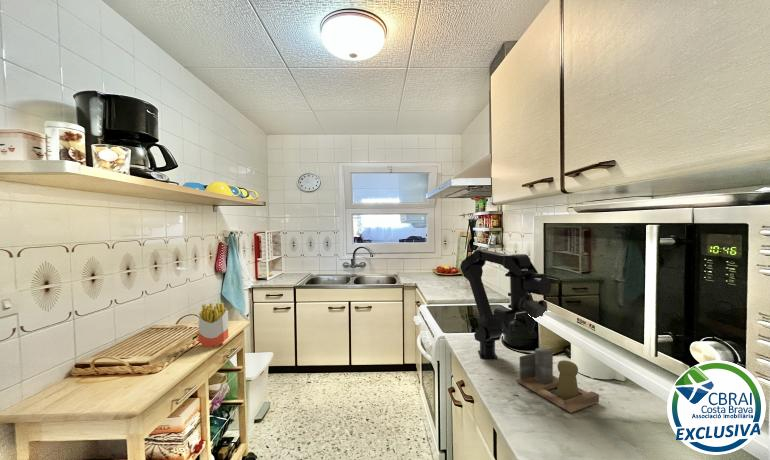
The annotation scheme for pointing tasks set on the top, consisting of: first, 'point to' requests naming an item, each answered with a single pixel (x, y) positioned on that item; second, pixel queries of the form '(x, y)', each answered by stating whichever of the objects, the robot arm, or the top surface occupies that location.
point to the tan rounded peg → (567, 380)
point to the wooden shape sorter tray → (549, 380)
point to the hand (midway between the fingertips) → (520, 336)
